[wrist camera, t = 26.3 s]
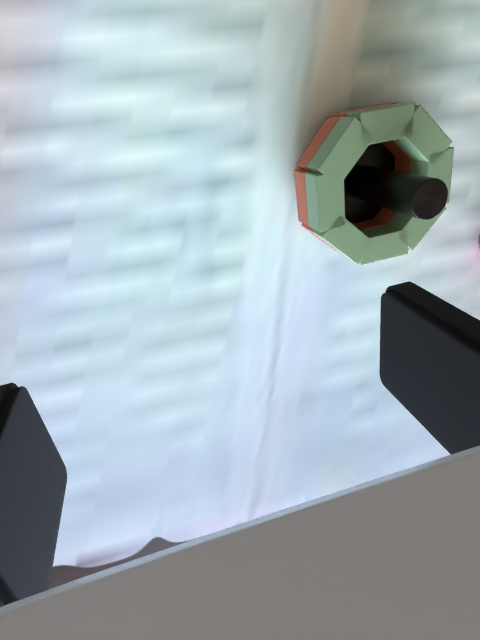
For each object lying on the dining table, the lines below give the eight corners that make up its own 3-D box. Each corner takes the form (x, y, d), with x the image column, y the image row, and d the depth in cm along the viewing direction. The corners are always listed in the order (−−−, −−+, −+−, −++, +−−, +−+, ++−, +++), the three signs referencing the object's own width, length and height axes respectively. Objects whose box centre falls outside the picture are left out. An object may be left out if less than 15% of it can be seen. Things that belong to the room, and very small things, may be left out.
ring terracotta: (302, 259, 40) (311, 267, 38) (289, 122, 34) (299, 122, 32) (414, 231, 42) (429, 237, 40) (420, 96, 36) (438, 95, 34)
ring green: (311, 266, 38) (321, 275, 36) (300, 121, 32) (312, 121, 30) (428, 238, 40) (445, 244, 38) (438, 95, 34) (459, 94, 32)
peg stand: (319, 229, 40) (379, 263, 31) (314, 143, 36) (381, 150, 27) (392, 213, 41) (471, 240, 32) (394, 128, 38) (485, 130, 28)
